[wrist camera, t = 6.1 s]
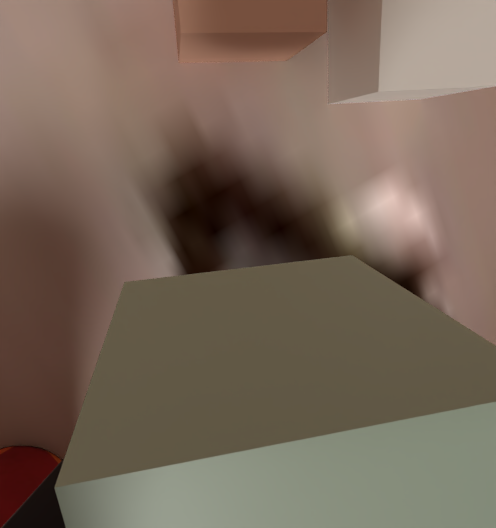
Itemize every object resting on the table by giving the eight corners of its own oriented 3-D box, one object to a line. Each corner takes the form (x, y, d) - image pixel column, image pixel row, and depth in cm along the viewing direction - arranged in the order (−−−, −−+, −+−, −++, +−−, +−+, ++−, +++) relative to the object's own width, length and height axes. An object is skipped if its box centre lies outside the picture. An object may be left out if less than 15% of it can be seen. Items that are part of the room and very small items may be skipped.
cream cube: (427, -15, 18) (517, -70, 13) (419, 99, 20) (496, 86, 15) (327, -15, 17) (385, -74, 13) (327, 104, 19) (378, 91, 14)
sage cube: (352, 255, 9) (563, 388, 4) (346, 433, 10) (494, 680, 6) (124, 281, 8) (54, 486, 3) (157, 470, 9) (142, 794, 5)
